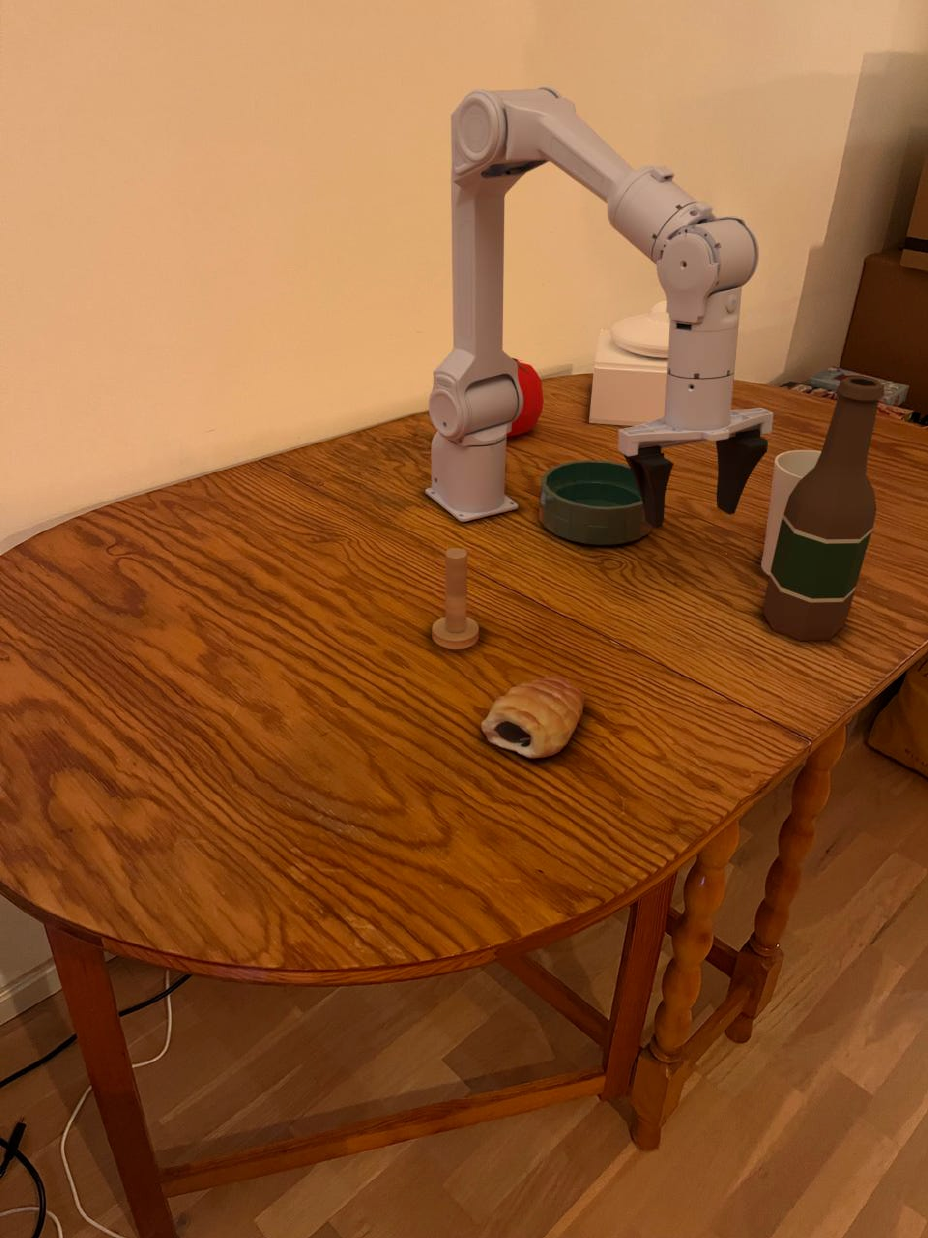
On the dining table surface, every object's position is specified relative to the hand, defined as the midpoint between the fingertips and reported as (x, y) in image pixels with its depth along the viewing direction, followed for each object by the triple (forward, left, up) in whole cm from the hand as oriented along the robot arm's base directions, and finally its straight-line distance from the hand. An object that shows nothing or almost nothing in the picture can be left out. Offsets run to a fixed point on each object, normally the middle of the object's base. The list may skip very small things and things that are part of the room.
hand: (690, 517), depth 86 cm
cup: (0, +16, -10) cm, 19 cm away
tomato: (-49, +9, -10) cm, 51 cm away
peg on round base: (-6, -22, -10) cm, 25 cm away
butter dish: (-47, +35, -10) cm, 60 cm away
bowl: (-19, +4, -10) cm, 22 cm away
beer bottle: (+8, +9, -10) cm, 16 cm away
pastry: (+9, -23, -10) cm, 27 cm away
